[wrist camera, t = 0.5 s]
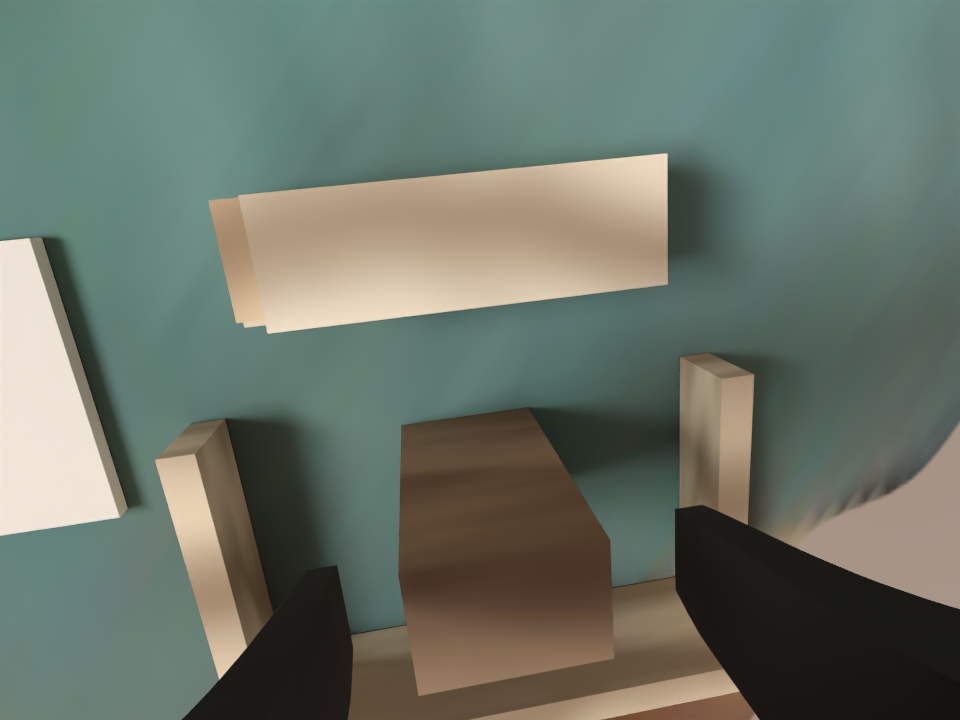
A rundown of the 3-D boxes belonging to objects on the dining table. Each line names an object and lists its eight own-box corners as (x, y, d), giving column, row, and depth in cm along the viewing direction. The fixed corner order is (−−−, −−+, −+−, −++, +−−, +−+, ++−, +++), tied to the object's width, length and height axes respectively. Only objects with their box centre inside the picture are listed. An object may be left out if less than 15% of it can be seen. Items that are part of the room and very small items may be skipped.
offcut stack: (635, 274, 21) (686, 288, 17) (255, 319, 19) (218, 346, 15) (633, 162, 19) (687, 151, 16) (229, 202, 18) (183, 200, 14)
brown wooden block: (534, 486, 22) (614, 658, 14) (413, 505, 22) (418, 696, 13) (528, 407, 21) (610, 539, 13) (401, 425, 21) (398, 575, 12)
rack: (703, 593, 25) (774, 684, 20) (258, 675, 23) (220, 797, 18) (708, 352, 22) (793, 392, 17) (191, 423, 20) (122, 491, 15)
